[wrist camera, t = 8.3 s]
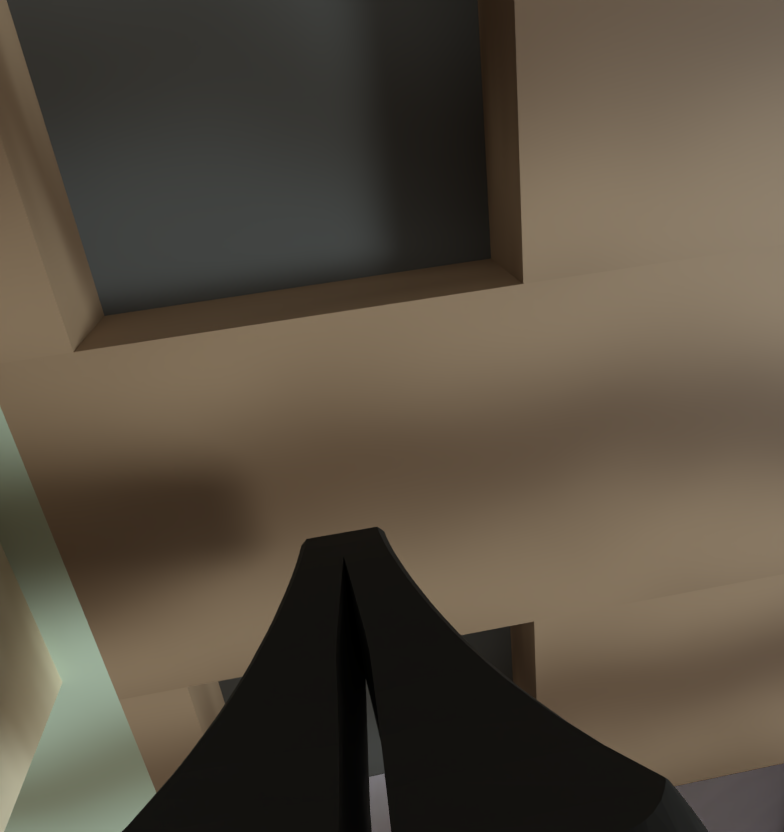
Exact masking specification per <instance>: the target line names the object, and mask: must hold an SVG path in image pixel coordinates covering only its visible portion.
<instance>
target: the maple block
mask: <svg viewBox="0 0 784 832" xmlns="http://www.w3.org/2000/svg"><path fill="white" fill-rule="evenodd" d="M61 685H62V680H61V678H60V675H59V673H58V671H57V669H56V667H55V664H54V662H53V660H52V658H51V655H50V653H49V651H48V649H47V646H46V644H45V642H44V640H43V637H42V635H41V633H40V631H39V628H38V626H37V624H36V622H35V620H34V617H33V615H32V613H31V611H30V608H29V606H28V604H27V602H26V599H25V597H24V595H23V593H22V590H21V588H20V586H19V584H18V582H17V579H16V577H15V575H14V573H13V570H12V568H11V566H10V564H9V561H8V559H7V557H6V555H5V552H4V550H3V548H2V546H1V544H0V832H4V831H5V828H6V826H7V823H8V821H9V818H10V816H11V813H12V810H13V808H14V805H15V803H16V800H17V798H18V795H19V792H20V790H21V787H22V785H23V782H24V780H25V777H26V775H27V772H28V769H29V767H30V764H31V762H32V759H33V757H34V754H35V752H36V749H37V746H38V744H39V741H40V739H41V736H42V734H43V731H44V728H45V726H46V723H47V721H48V718H49V716H50V713H51V711H52V708H53V705H54V703H55V700H56V698H57V695H58V693H59V690H60V687H61Z"/></svg>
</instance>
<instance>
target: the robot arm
mask: <svg viewBox="0 0 784 832" xmlns="http://www.w3.org/2000/svg"><path fill="white" fill-rule="evenodd" d="M366 682H367V686H368V690H369V694H370V699H371V703H372V707H373V711H374V716H375V720H376V724H377V728H378V732H379V737H380V741H381V746H382V754H383V763H384V771H385V780H386V788H387V797H388V806H389V814H390V823H391V832H708V830H707V829H706V828H705V826H704V825H703V824H702V822H701V821H700V819H699V818H698V817H697V815H696V814H695V812H694V811H693V810H692V808H691V807H690V806H689V805H688V803H687V802H686V801H685V799H684V798H683V797H682V796H681V794H680V793H679V792H678V791H677V789H676V788H675V787H674V786H673V784H672V783H671V782H670V781H669V780H668V779H667V778H665V777H663V776H662V775H660V774H658V773H656V772H654V771H652V770H650V769H648V768H647V767H645V766H643V765H641V764H639V763H637V762H635V761H633V760H632V759H630V758H628V757H626V756H624V755H622V754H620V753H618V752H616V751H615V750H613V749H611V748H609V747H607V746H605V745H603V744H602V743H600V742H599V741H597V740H596V739H594V738H592V737H591V736H589V735H588V734H586V733H584V732H583V731H581V730H580V729H578V728H576V727H575V726H573V725H572V724H570V723H569V722H567V721H566V720H564V719H563V718H561V717H560V716H559V715H557V714H556V713H555V712H553V711H552V710H550V709H549V708H548V707H546V706H545V705H543V704H542V703H541V702H539V701H538V700H536V699H535V698H534V697H532V696H531V695H530V694H528V693H527V692H525V691H524V690H523V689H521V688H520V687H519V686H517V685H516V684H515V683H514V682H512V681H511V680H510V679H509V678H508V677H506V676H505V675H504V674H503V673H502V672H500V671H499V670H498V669H497V668H496V667H494V666H493V665H492V664H491V663H490V662H489V661H488V660H487V659H486V658H484V657H483V656H482V655H481V654H480V653H479V652H478V651H477V650H476V649H475V648H474V647H472V646H471V645H470V644H469V643H468V642H467V641H466V640H465V639H464V638H463V637H462V636H461V635H460V634H459V633H458V632H457V631H456V629H455V628H454V627H453V626H452V625H451V624H450V623H449V622H448V621H447V620H446V619H445V618H444V617H443V615H442V614H441V613H440V612H439V611H438V610H437V609H436V607H435V606H434V605H433V604H432V603H431V602H430V600H429V599H428V598H427V597H426V595H425V594H424V593H423V592H422V590H421V589H420V588H419V586H418V585H417V584H416V583H415V581H414V580H413V579H412V577H411V576H410V575H409V573H408V572H407V570H406V569H405V568H404V566H403V565H402V563H401V562H400V560H399V559H398V557H397V555H396V554H395V552H394V550H393V549H392V547H391V545H390V543H389V541H388V539H387V537H386V534H385V532H384V531H383V530H382V529H380V528H379V527H372V528H366V529H361V530H355V531H349V532H343V533H338V534H332V535H326V536H320V537H314V538H309V539H306V540H305V542H304V543H303V544H302V545H301V549H300V553H299V556H298V559H297V563H296V566H295V568H294V571H293V574H292V577H291V579H290V582H289V584H288V587H287V589H286V592H285V594H284V596H283V599H282V601H281V603H280V605H279V607H278V610H277V612H276V614H275V616H274V619H273V621H272V623H271V625H270V627H269V629H268V631H267V633H266V635H265V637H264V638H263V640H262V642H261V644H260V646H259V648H258V650H257V652H256V653H255V655H254V657H253V659H252V661H251V663H250V665H249V666H248V668H247V670H246V671H245V673H244V675H243V676H242V678H241V680H240V681H239V683H238V685H237V686H236V688H235V689H234V691H233V693H232V694H231V696H230V697H229V699H228V700H227V702H226V703H225V705H224V706H223V708H222V709H221V711H220V712H219V714H218V715H217V717H216V718H215V720H214V721H213V722H212V724H211V725H210V726H209V728H208V729H207V730H206V732H205V733H204V734H203V736H202V737H201V739H200V740H199V741H198V743H197V744H196V745H195V747H194V748H193V749H192V751H191V752H190V753H189V755H188V756H187V757H186V758H185V760H184V761H183V762H182V763H181V765H180V766H179V767H178V768H177V770H176V771H175V772H174V773H173V775H172V776H171V777H170V778H169V779H168V780H167V782H166V783H165V784H164V785H163V786H162V787H161V788H160V789H159V791H158V792H157V793H156V794H155V795H154V796H153V797H152V799H151V800H150V801H149V802H148V803H147V804H146V805H145V807H144V808H143V809H142V810H141V811H140V812H139V813H138V814H137V816H136V817H135V818H134V819H133V820H132V821H131V822H130V823H129V825H128V826H127V827H126V828H125V829H124V830H123V831H122V832H372V831H371V816H370V797H369V764H368V730H367V699H366Z"/></svg>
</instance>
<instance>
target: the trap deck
mask: <svg viewBox="0 0 784 832" xmlns="http://www.w3.org/2000/svg"><path fill="white" fill-rule="evenodd" d="M372 527H379V528H380V529H382V530H383V531H384V532H385V534H386V537H387V539H388V541H389V543H390V545H391V547H392V549H393V550H394V552H395V554H396V555H397V557H398V559H399V560H400V562H401V563H402V565H403V566H404V568H405V569H406V570H407V572H408V573H409V575H410V576H411V577H412V579H413V580H414V581H415V583H416V584H417V585H418V586H419V588H420V589H421V590H422V592H423V593H424V594H425V595H426V597H427V598H428V599H429V600H430V602H431V603H432V604H433V605H434V606H435V607H436V609H437V610H438V611H439V612H440V613H441V614H442V615H443V617H444V618H445V619H446V620H447V621H448V622H449V623H450V624H451V625H452V626H453V627H454V628H455V629H456V631H457V632H458V633H459V634H460V635H461V636H462V637H463V638H464V639H465V640H466V641H467V642H468V643H469V644H470V645H471V646H472V647H474V648H475V649H476V650H477V651H478V652H479V653H480V654H481V655H482V656H483V657H484V658H486V659H487V660H488V661H489V662H490V663H491V664H492V665H493V666H494V667H496V668H497V669H498V670H499V671H500V672H502V673H503V674H504V675H505V676H506V677H508V678H509V679H510V680H511V681H512V682H514V683H515V684H516V685H517V686H519V687H520V688H521V689H523V690H524V691H525V692H527V693H528V694H530V695H531V696H532V697H534V698H535V699H536V700H538V701H539V702H541V703H542V704H543V705H545V706H546V707H548V708H549V709H550V710H552V711H553V712H555V713H556V714H557V715H559V716H560V717H561V718H563V719H564V720H566V721H567V722H569V723H570V724H572V725H573V726H575V727H576V728H578V729H580V730H581V731H583V732H584V733H586V734H588V735H589V736H591V737H592V738H594V739H596V740H597V741H599V742H600V743H602V744H603V745H605V746H607V747H609V748H611V749H613V750H615V751H616V752H618V753H620V754H622V755H624V756H626V757H628V758H630V759H632V760H633V761H635V762H637V763H639V764H641V765H643V766H645V767H647V768H648V769H650V770H652V771H654V772H656V773H658V774H660V775H662V776H663V777H665V778H667V779H668V780H669V781H670V782H671V783H672V784H673V786H679V785H684V784H688V783H693V782H698V781H702V780H707V779H712V778H717V777H721V776H726V775H731V774H736V773H740V772H745V771H750V770H755V769H759V768H764V767H769V766H774V765H778V764H783V763H784V0H0V544H1V546H2V548H3V550H4V552H5V555H6V557H7V559H8V561H9V564H10V566H11V568H12V570H13V573H14V575H15V577H16V579H17V582H18V584H19V586H20V588H21V590H22V593H23V595H24V597H25V599H26V602H27V604H28V606H29V608H30V611H31V613H32V615H33V617H34V620H35V622H36V624H37V626H38V628H39V631H40V633H41V635H42V637H43V640H44V642H45V644H46V646H47V649H48V651H49V653H50V655H51V658H52V660H53V662H54V664H55V667H56V669H57V671H58V673H59V675H60V678H61V680H62V685H61V687H60V690H59V693H58V695H57V698H56V700H55V703H54V705H53V708H52V711H51V713H50V716H49V718H48V721H47V723H46V726H45V728H44V731H43V734H42V736H41V739H40V741H39V744H38V746H37V749H36V752H35V754H34V757H33V759H32V762H31V764H30V767H29V769H28V772H27V775H26V777H25V780H24V782H23V785H22V787H21V790H20V792H19V795H18V798H17V800H16V803H15V805H14V808H13V810H12V813H11V816H10V818H9V821H8V823H7V826H6V828H5V831H4V832H122V831H123V830H124V829H125V828H126V827H127V826H128V825H129V823H130V822H131V821H132V820H133V819H134V818H135V817H136V816H137V814H138V813H139V812H140V811H141V810H142V809H143V808H144V807H145V805H146V804H147V803H148V802H149V801H150V800H151V799H152V797H153V796H154V795H155V794H156V793H157V792H158V791H159V789H160V788H161V787H162V786H163V785H164V784H165V783H166V782H167V780H168V779H169V778H170V777H171V776H172V775H173V773H174V772H175V771H176V770H177V768H178V767H179V766H180V765H181V763H182V762H183V761H184V760H185V758H186V757H187V756H188V755H189V753H190V752H191V751H192V749H193V748H194V747H195V745H196V744H197V743H198V741H199V740H200V739H201V737H202V736H203V734H204V733H205V732H206V730H207V729H208V728H209V726H210V725H211V724H212V722H213V721H214V720H215V718H216V717H217V715H218V714H219V712H220V711H221V709H222V708H223V706H224V705H225V703H226V702H227V700H228V699H229V697H230V696H231V694H232V693H233V691H234V689H235V688H236V686H237V685H238V683H239V681H240V680H241V678H242V676H243V675H244V673H245V671H246V670H247V668H248V666H249V665H250V663H251V661H252V659H253V657H254V655H255V653H256V652H257V650H258V648H259V646H260V644H261V642H262V640H263V638H264V637H265V635H266V633H267V631H268V629H269V627H270V625H271V623H272V621H273V619H274V616H275V614H276V612H277V610H278V607H279V605H280V603H281V601H282V599H283V596H284V594H285V592H286V589H287V587H288V584H289V582H290V579H291V577H292V574H293V571H294V568H295V566H296V563H297V559H298V556H299V553H300V549H301V545H302V544H303V543H304V542H305V540H306V539H309V538H314V537H320V536H326V535H332V534H338V533H343V532H349V531H355V530H361V529H366V528H372ZM366 699H367V730H368V764H369V777H370V776H375V775H380V774H385V771H384V763H383V754H382V746H381V741H380V737H379V732H378V728H377V724H376V720H375V716H374V711H373V707H372V703H371V699H370V694H369V690H368V686H367V682H366Z"/></svg>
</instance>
